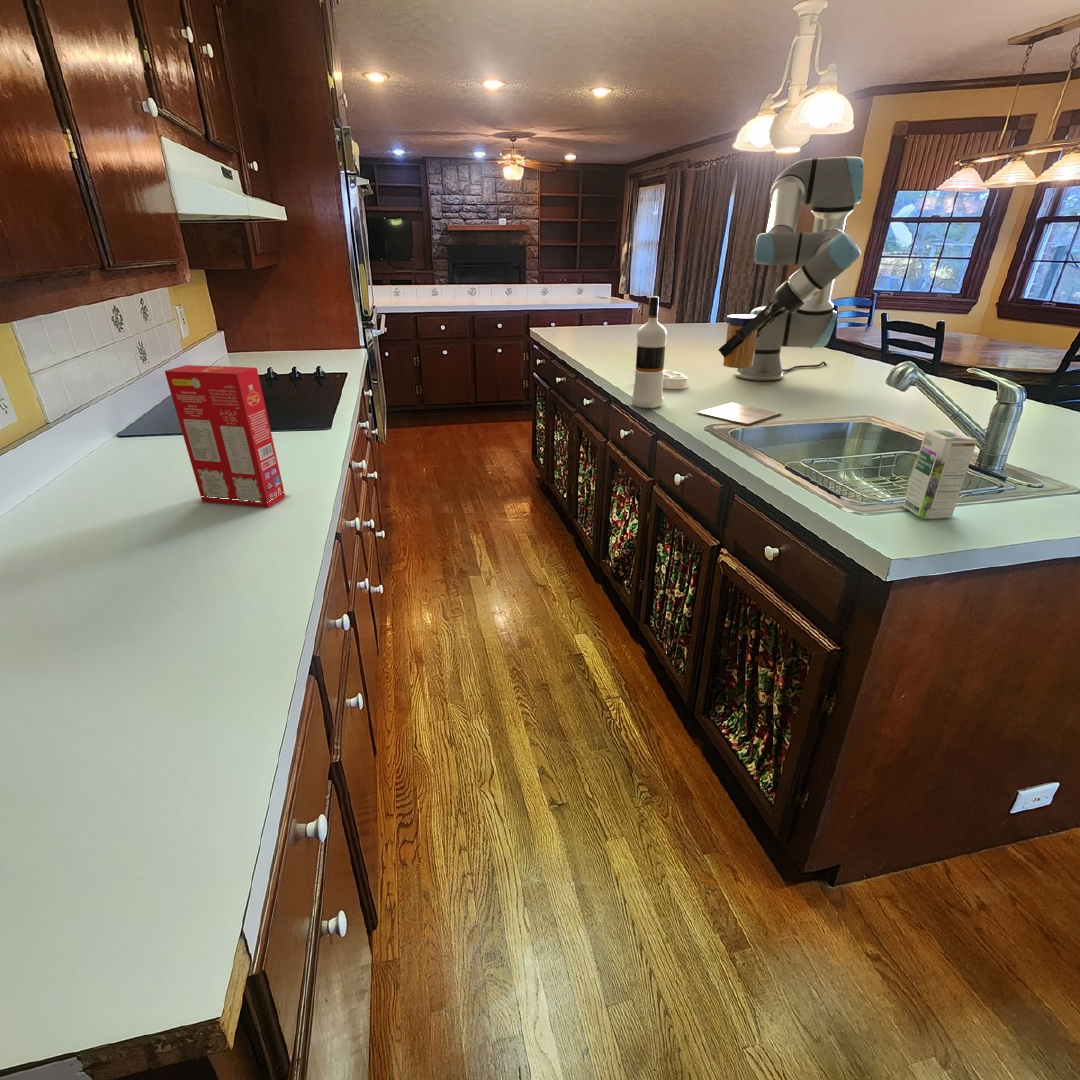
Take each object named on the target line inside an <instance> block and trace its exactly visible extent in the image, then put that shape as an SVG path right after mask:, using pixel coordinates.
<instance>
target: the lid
mask: <svg viewBox="0 0 1080 1080" xmlns="http://www.w3.org/2000/svg"><path fill="white" fill-rule="evenodd" d="M755 316H757V315H750V314H746V313H745V314H742V313H741V314H739V313H738V314H729V315H727V317H726V324H727V325H728V324H732V325H746V324H747V323H748V322H749V321H751V320H752V319H753V318H754V317H755Z"/></svg>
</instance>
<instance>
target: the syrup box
mask: <svg viewBox="0 0 1080 1080" xmlns="http://www.w3.org/2000/svg"><path fill="white" fill-rule="evenodd" d="M977 442H978V439H977V438H973V437H970V436H968V435H965V434H963V433H960V432H958V431H957V430H952V429H931V430H926V431H925V432H924V435H923V438H922V441H921V445H920V448H919V451H918V455H917V459H916V462H915V465H914V469H913V473H912V475H911V479H910V483H909V487H908V490H907V493H906V497H905V500H904V503H903V508H904V509H906V510H908V511H909V512H911V513H912V514H914V515H915V516H917V517H919V519H921V520H935V519H950V518H952V517H953V515H954V511H955V508H956V506H957V502H958V500H959V497H960V494H961V491H962V488H963V485H964V482H965V479H966V476H967V472H968V471H969V470H968V469H969V467H970V464H971V461H972V458H973V454H974V453H975V449H976V446H977Z"/></svg>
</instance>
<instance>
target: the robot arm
mask: <svg viewBox="0 0 1080 1080" xmlns="http://www.w3.org/2000/svg"><path fill="white" fill-rule="evenodd" d="M864 162H865V161H864V159H863V158H862V157H860V156H847V155H846V156H833V157H820V158H819V157H818V158H805V159H801V160H799V161H795V162H794V163H793V164H790V165H789V166H788V167H786V168H785V169H784V170H782V172H781V173H780V174H779V175H777V177H776V178H775V180H774V181H773V183H772V185H771V188H770V192H769V202H770V205H771V206H770V211H769V215H768V222H767V226H766V232H763V233H759V234H758V235H757V236H756V239H755V240H756V241H755V247H754V256H753V262H754V263H755V264H756V265H763V266H764V265H766V266H789V265H790V266H793V265H794V266H795V265H796V266H800V267H799V269H797V270H796V271H795V272H794V273H792V275H790V276H789V278H788V280H785V281H784V282H783V283H782V284H781V285H779V286H778V287H777V288H776V290H775V292H774V293H775V297H776V298H777V299H776V301H775V300H774V301H773V302H772V301H771V302H769V303H768V304H767V305H765V306H764V305H763V306H759V307H756V308H754V309H752V310H751V311H750V313H749V315H757V316H755V317H754V318H753V319H752V320H751V321H749V322H748V323H747V324H746V325H745V326H743V327H742V328H741V329H740V330H736V331H735V332H736V335H734V336H733V337H732V338H731V339H730V340H729V341H728V342H726V341H725V342H726V343H725V342H724V344H723V345H721V346H720V347H719V348H718V351H719V353H720V354H721V355H722V357H723V358H724V357H726V356H727V355H728V354H729V353H730V352H732V351H733V350H734V349H735V348H736V347H737V346H739V345H740V344H741V343H742V342H743V341H744V340H745V339H746V338H747V337H748V336H749V335H751V334H752V333H753V332H754V331H756V330H757V329H758V331H757V338H756V346H755V353H754V360H753V366H752V367H749V368H736V372H735V376H736V378H739V379H742V380H747V381H755V382H756V381H757V382H772V381H773V382H774V381H778V380H779V381H780V380H781V379H782V377H783V372H790V371H792V370H794V369H800V368H818V367H821V366H822V365H824V366H827V362H825V361H821V362H820V363H819V364H811V365H810V364H808V365H807V364H805V365H795V366H792V367H790V368H787V369H786V368H785V369H784V368H783V365H782V359H781V349H782V347H783V348H785V347H787V348H807V349H819V348H820V349H821V348H824V347H826V346H827V345H828V343H829V341H830V339H831V336H832V334H833V331H834V328H835V324H836V321H837V317H838V312H837V311H836V310H834V308H835V307H834V303H833V302H832V301H831V296H832V290H833V286H834V282H835V279H837V278H838V277H839V276H840V275H841V274H842V273H843V272H845V271H846V270H848V269H849V268H850V267H851V266H852V265H853V264H854V263H855V262H856V261H857V260H858V259H859V258H860V256H861V255H862V254H861V253H862V252H861V249H860V248H859V246H858V244H857V243H856V241H855V240H854V239H853V238H852V237H851V236H850V234H847V233H845V231H844V230H845V226H846V220H847V217H848V216H849V215H850V214H851V213H852V212H853V211H854V209H855V204H857V205H858V204H859V203H861V201H862V198H863V197H862V196H863V190H864V179H865V178H864V176H865V163H864ZM801 205H811V207H810V208H811V209H810V212H811V213H812V215H813V216H814V222H813V229H812V232H797V226H798V219H799V212H800V206H801Z"/></svg>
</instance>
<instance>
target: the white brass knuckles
mask: <svg viewBox="0 0 1080 1080" xmlns="http://www.w3.org/2000/svg"><path fill="white" fill-rule="evenodd" d="M663 370H664V374H663V389H671V390H686V389H687V388H688V381H689V377H688V376H686V375H685V374H684V373H682V372H678V371H675V370H670V369H669V370H668V369H665V368H664V369H663Z"/></svg>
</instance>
